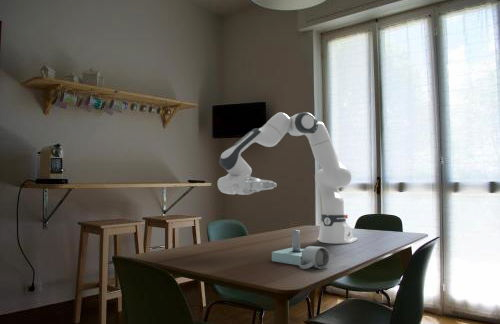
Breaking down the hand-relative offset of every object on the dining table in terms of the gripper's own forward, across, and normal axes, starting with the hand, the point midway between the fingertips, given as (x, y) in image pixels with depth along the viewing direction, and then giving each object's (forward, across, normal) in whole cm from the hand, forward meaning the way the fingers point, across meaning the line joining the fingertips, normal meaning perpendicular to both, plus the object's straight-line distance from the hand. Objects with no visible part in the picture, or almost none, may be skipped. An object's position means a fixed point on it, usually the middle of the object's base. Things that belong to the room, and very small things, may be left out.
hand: (268, 185), depth 169 cm
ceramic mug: (+28, -9, +30) cm, 42 cm away
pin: (+16, -3, +30) cm, 34 cm away
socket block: (+16, -3, +30) cm, 34 cm away
